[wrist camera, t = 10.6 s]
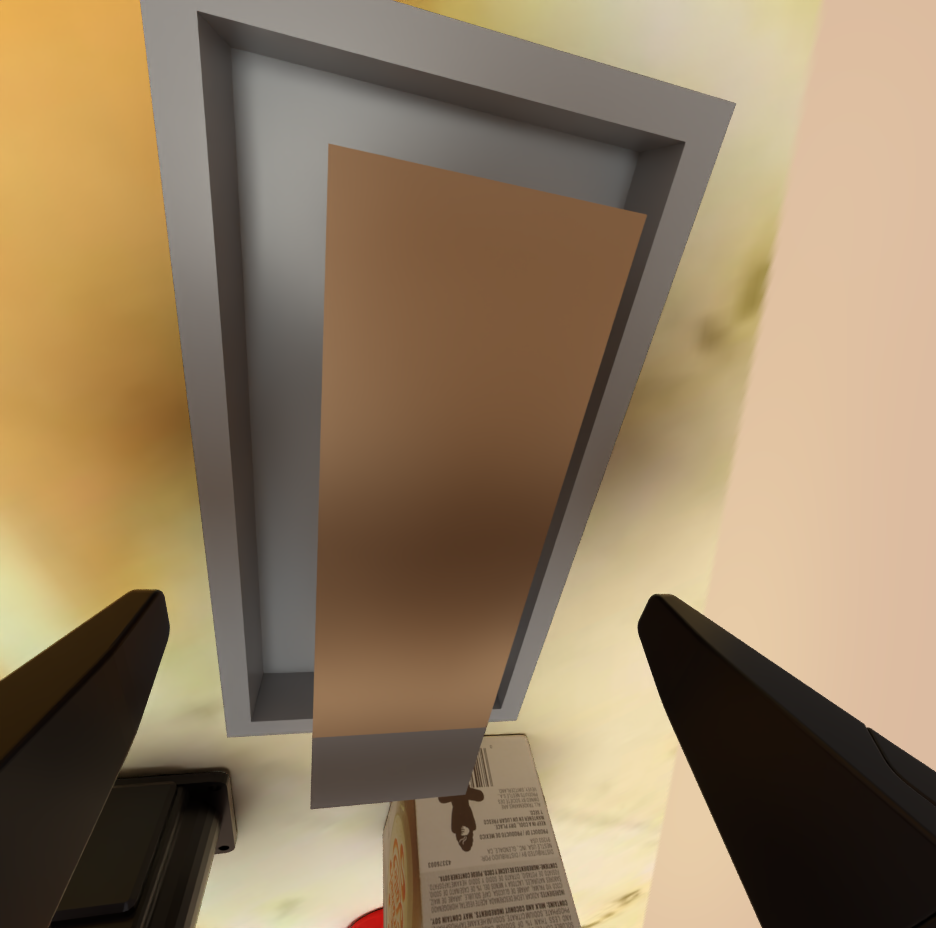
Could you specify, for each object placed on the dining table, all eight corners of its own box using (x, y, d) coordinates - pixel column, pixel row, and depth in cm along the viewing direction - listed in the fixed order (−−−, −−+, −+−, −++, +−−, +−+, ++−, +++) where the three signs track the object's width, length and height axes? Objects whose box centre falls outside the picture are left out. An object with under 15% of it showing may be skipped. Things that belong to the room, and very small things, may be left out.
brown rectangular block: (354, 176, 10) (328, 143, 5) (523, 212, 11) (647, 214, 6) (332, 622, 17) (310, 809, 11) (440, 621, 18) (465, 794, 12)
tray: (501, 666, 20) (516, 720, 18) (245, 674, 18) (227, 737, 16) (668, 123, 11) (736, 103, 9) (191, -9, 9) (130, -78, 7)
